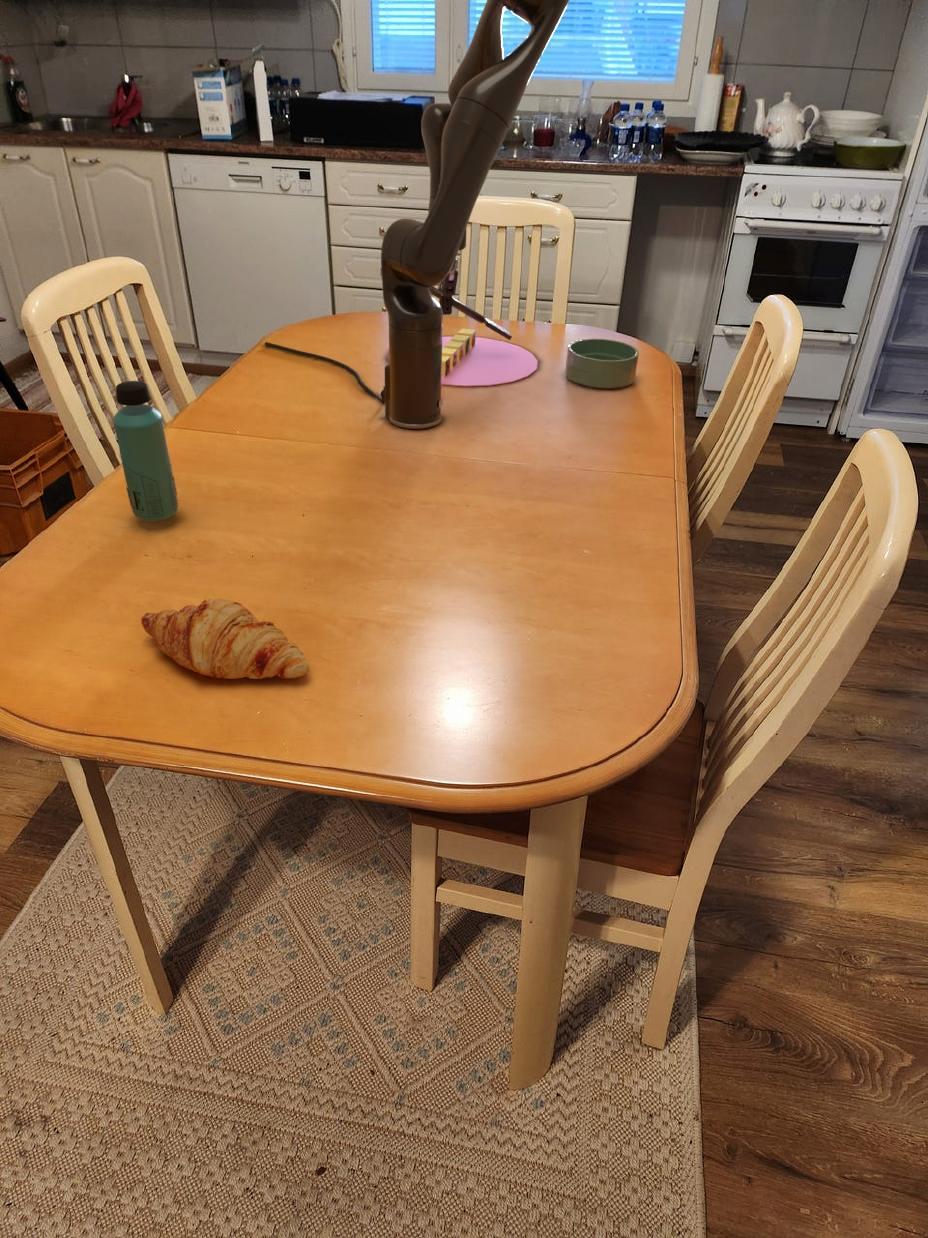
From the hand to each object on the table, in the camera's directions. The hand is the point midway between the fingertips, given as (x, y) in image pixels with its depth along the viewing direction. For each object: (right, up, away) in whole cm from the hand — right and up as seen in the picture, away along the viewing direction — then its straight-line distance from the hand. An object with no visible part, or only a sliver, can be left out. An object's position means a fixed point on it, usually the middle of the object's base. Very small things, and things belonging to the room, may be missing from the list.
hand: (445, 312), depth 179 cm
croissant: (-23, -68, -81) cm, 108 cm away
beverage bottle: (-40, -49, -55) cm, 84 cm away
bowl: (+32, -14, 0) cm, 35 cm away
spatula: (+6, 0, +1) cm, 6 cm away
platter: (+4, -8, +7) cm, 11 cm away
